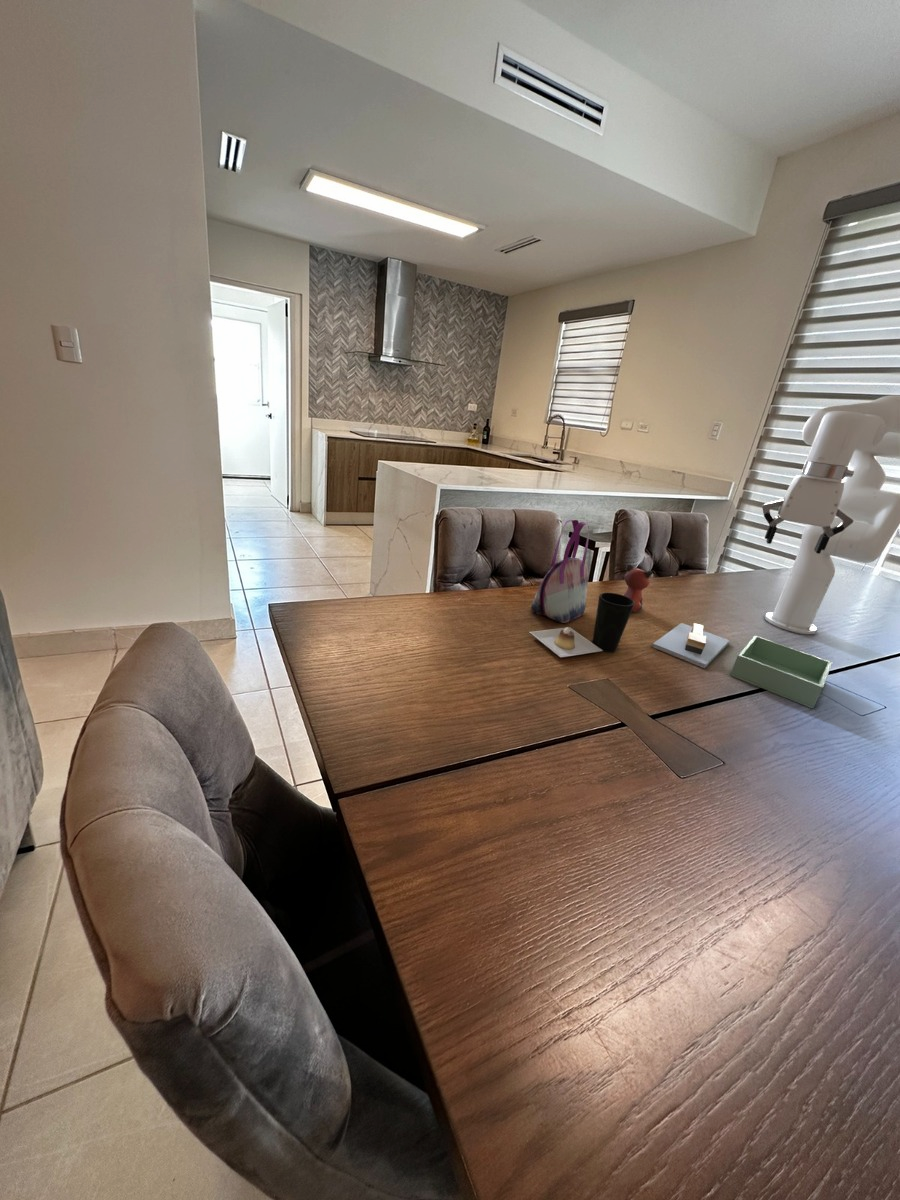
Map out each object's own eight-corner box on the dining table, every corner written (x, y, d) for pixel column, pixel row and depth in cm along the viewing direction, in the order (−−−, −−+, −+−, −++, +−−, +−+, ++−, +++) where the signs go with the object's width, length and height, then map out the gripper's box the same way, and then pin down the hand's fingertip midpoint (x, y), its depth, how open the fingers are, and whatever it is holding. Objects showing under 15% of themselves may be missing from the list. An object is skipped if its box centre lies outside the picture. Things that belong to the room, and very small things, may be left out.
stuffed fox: (606, 609, 131) (617, 569, 127) (619, 599, 140) (629, 561, 135) (633, 618, 127) (645, 577, 123) (644, 607, 136) (656, 568, 131)
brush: (686, 632, 120) (690, 621, 119) (702, 637, 119) (706, 626, 118) (684, 649, 111) (688, 638, 110) (701, 654, 109) (705, 643, 108)
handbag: (550, 630, 115) (572, 530, 105) (518, 615, 121) (535, 519, 111) (593, 611, 129) (616, 522, 120) (562, 598, 135) (581, 513, 126)
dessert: (568, 631, 115) (572, 613, 114) (602, 655, 106) (607, 636, 104) (528, 636, 110) (531, 617, 108) (559, 661, 100) (564, 642, 99)
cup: (623, 657, 106) (637, 608, 101) (588, 650, 107) (601, 602, 102) (618, 641, 113) (631, 596, 108) (586, 635, 114) (598, 590, 109)
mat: (680, 626, 126) (681, 622, 126) (728, 643, 119) (729, 640, 119) (651, 647, 112) (653, 643, 112) (704, 668, 105) (705, 664, 105)
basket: (747, 653, 115) (755, 635, 113) (822, 681, 106) (832, 662, 104) (729, 675, 104) (737, 655, 102) (812, 708, 94) (823, 687, 92)
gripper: (867, 477, 102) (833, 552, 109) (775, 465, 109) (749, 536, 116) (876, 480, 96) (840, 560, 103) (779, 466, 103) (750, 542, 110)
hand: (792, 547), depth 109 cm, fingers open, 9 cm apart
